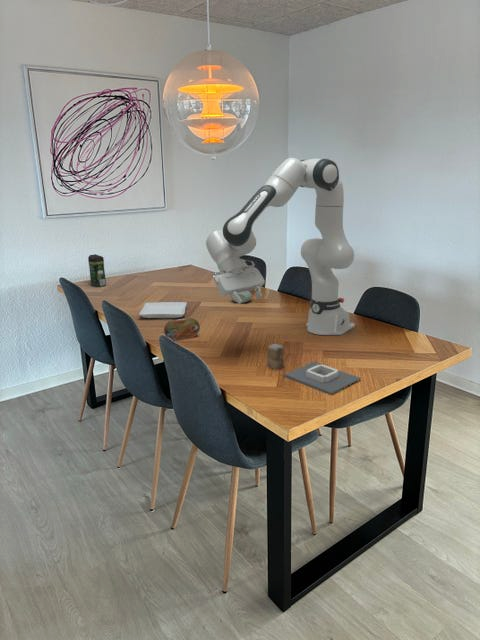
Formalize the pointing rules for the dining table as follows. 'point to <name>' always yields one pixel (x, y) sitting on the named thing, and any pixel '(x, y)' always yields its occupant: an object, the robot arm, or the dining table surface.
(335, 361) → the dining table surface
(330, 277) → the robot arm
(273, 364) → the plug
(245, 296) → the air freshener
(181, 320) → the tin
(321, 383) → the end holder
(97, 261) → the coffee jar
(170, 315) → the salad plate
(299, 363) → the dining table surface
